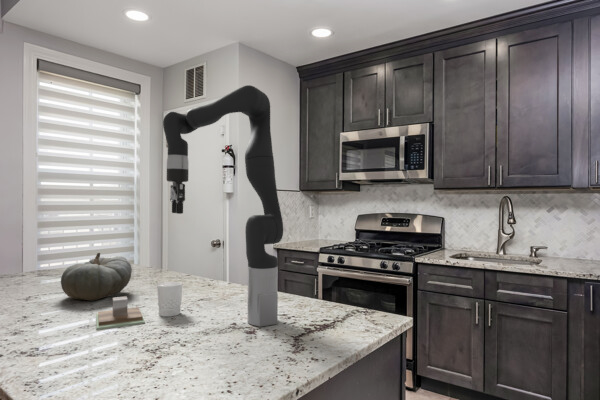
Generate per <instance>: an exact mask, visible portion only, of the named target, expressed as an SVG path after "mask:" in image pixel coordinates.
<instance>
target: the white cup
mask: <svg viewBox="0 0 600 400" xmlns="http://www.w3.org/2000/svg"><path fill="white" fill-rule="evenodd" d="M156 286H157V305H158V315H159V316H160V317H165V318H166V317H169V318H170V317H174V316H178V315H180V314H181V308H182V306H181V305H182V297H183V282H182V281H164V282H163V281H162V282H159V283H157V285H156Z"/></svg>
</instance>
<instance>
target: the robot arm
mask: <svg viewBox="0 0 600 400" xmlns="http://www.w3.org/2000/svg"><path fill="white" fill-rule="evenodd" d="M234 113H241V114H244V115H245V116H247V117H248V120H249V127H250V137H249V141H248V143H247V146H246V149H245V152H244V162H245V163H244V165H245V172H246V173H245V174H246V177H247V180H248V182H249V183H250V185H251V186H252V188H253V189H254V190H253V191H255V192H256V194H257V196H258V197H259V199H260V201H261V204H262V208H263V214H255V215H254V214H253V215H251V216H249V217H248V219H247V221H246V223H245V254H246V258H247V259H246V260H247V324H249V325H252V326H257V327H258V328H260V327H267V326H273V325H277V324H278V321H279V320H278V319H279V318H278V315H279V313H278V303H279V300H278V296H279V295H278V279H279V278H278V272H279V271H278V268H279V267H278V262H279V261H278V258H277V256H275V255H272V254H269V253H268V252H266V247H265V245H273V244H278V243H280V242H281V240H282V239H283V236H284V223H283V216H282V211H281V207H280V203H279V198H278V197H279V196H278V190H277V189H278V188H277V180H276V171H275V170H276V169H275V168H276V167H275V159H274V153H273V143H272V141H273V140H272V133H271V103H270V99H269V97H268V95H267V94H266V93H265V92H264V91H262V90H260V89H259V88H257V87H256V86H253V85H243V86H241V87H239V88H237V89H234V91H232V92H230V93H228V94H226V95H224V96H222V97H220V98H218V99H216V100H214V101H211V102H208V103H205V104H202V105H199V106H195V107H192V108H190V109H189V110H187V112H186V114H183V113H179V112H178V111H168V112H167V113H165V115H164V117H163V120H162V127H163V131H164V135H165V140H166V142H167V158H166V159H167V160H166V181H167V182H169V183H170V182H171V183H172V184H171V185H170V195H169V197H170V198H169V200H170V202H171V213H172V214H178V215H181V214H184V202H185V201H186V183H187V182H189V166H190V165H189V164H190V163H189V157H188V156H189V144H188V141H186V139H184V138H183V137H182V135H187V134H191V133H192V132H195V131H197V129H199V128H204V127H207V126H210V125H213V124H215V123H218V121H220V120H221V119H222V118H223V117H224V116H226V115H229V114H234Z"/></svg>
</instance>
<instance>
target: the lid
mask: <svg viewBox="0 0 600 400" xmlns="http://www.w3.org/2000/svg"><path fill="white" fill-rule="evenodd" d="M128 302H129V301H128V297H127V295H126V296H117V297H116V296H115V297H112V310H104V311H103V310H102V311H98V312H97V313H98V321H99V326H100V325H108V324H115V323H123V322H131V321H138V320H143V318H144V316H143V314H142V312H140V311H141V310H139V309H140V307H138V306H136V307H128V304H129V303H128Z"/></svg>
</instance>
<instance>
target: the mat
mask: <svg viewBox="0 0 600 400" xmlns="http://www.w3.org/2000/svg"><path fill="white" fill-rule="evenodd" d="M139 310H140V308H139ZM140 312H141V310H140ZM141 313H142V312H141ZM95 316H96V317H95V318H96V321H95V322H96V330H97V331H99V330H106V329H113V328H120V327H121V328H122V327H127V326H129V327H130V326H134V325H135V326H136V325H144V324H145V323H146V320H145V318H144V317H143V320H138V321H131V322H123V323H115V324H108V325H100V326H99V321H98V312H97V313H95Z"/></svg>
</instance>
